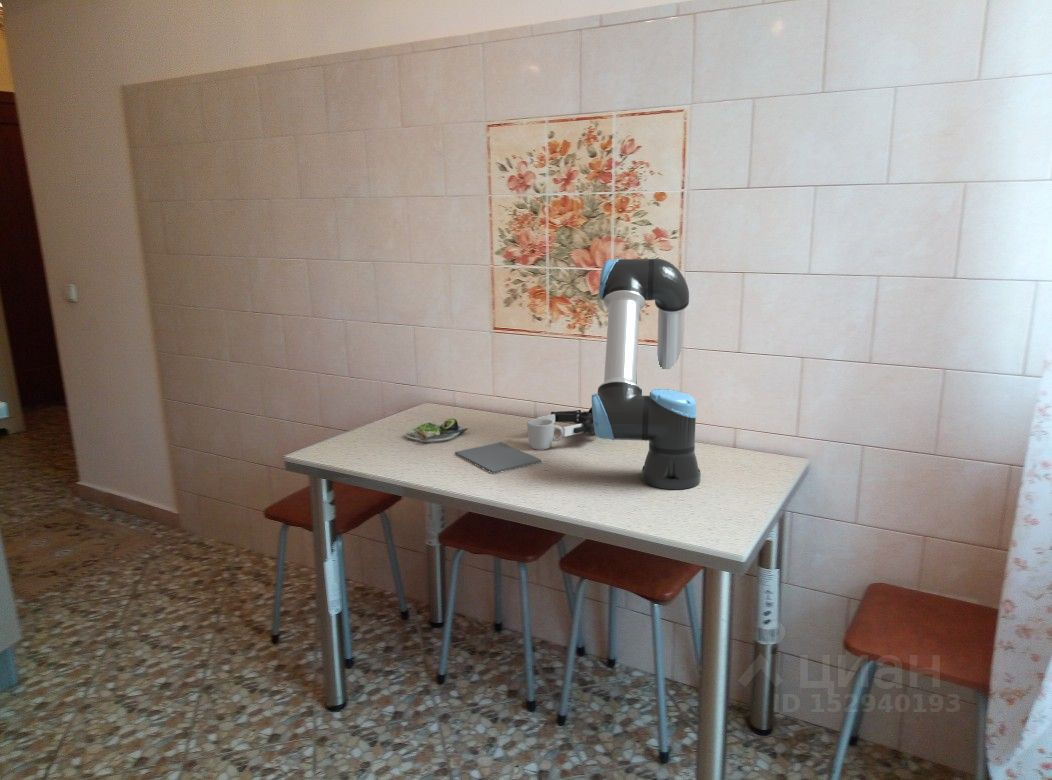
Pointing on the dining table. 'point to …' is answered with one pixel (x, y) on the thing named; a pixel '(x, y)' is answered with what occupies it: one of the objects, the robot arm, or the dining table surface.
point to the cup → (542, 433)
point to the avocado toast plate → (436, 431)
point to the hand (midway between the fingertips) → (550, 426)
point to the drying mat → (498, 457)
